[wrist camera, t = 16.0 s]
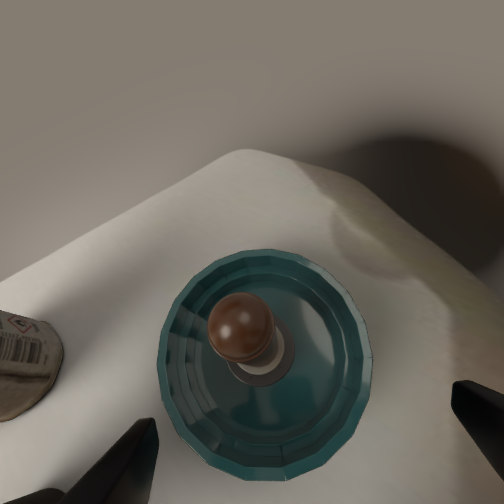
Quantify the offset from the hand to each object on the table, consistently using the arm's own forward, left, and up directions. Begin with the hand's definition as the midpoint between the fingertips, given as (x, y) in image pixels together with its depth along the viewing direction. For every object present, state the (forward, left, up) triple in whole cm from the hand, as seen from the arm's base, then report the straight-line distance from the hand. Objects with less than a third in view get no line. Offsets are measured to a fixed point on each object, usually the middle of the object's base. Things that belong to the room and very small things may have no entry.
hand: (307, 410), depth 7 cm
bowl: (+1, +3, -13) cm, 13 cm away
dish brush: (+1, +3, -12) cm, 13 cm away
